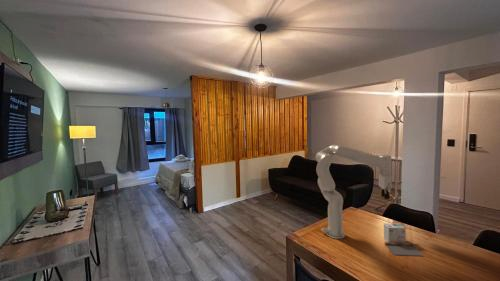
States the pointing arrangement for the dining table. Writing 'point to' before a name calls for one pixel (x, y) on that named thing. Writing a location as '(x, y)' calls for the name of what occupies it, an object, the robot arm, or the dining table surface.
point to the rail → (398, 244)
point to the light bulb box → (395, 233)
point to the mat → (404, 250)
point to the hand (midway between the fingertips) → (385, 197)
